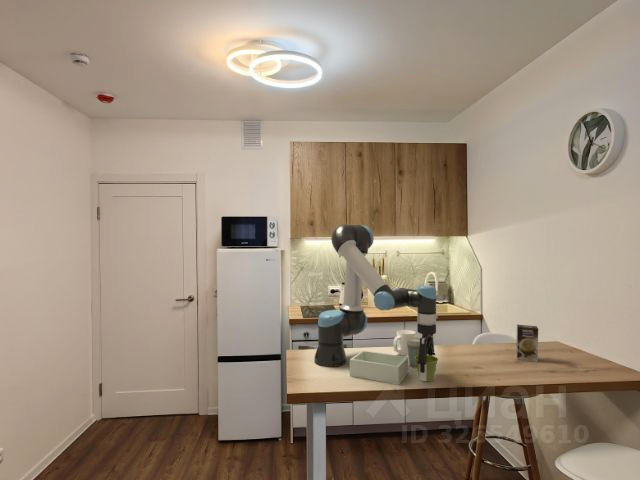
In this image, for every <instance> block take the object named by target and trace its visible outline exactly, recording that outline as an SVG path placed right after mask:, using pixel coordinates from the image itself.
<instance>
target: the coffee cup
mask: <svg viewBox="0 0 640 480" xmlns="http://www.w3.org/2000/svg"><path fill="white" fill-rule="evenodd" d="M420 338H421V337H420ZM420 338H419V337H417V338H409V339H408V340H407V347H408V356H407V357H408V367H410V368H412V369H413V368H414V369H417V363H416V360H415V357H416V356H418V355H419V347H420Z"/></svg>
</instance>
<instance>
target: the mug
mask: <svg viewBox="0 0 640 480" xmlns="http://www.w3.org/2000/svg"><path fill="white" fill-rule="evenodd" d="M409 338H418V331H416V330H411V329H399V330H396V336H395V337H394V339H393V346H392V348H393V352H396V354H398V355H400V354H401V355H400V356H404V355H408V347H407V340H408V339H409Z"/></svg>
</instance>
